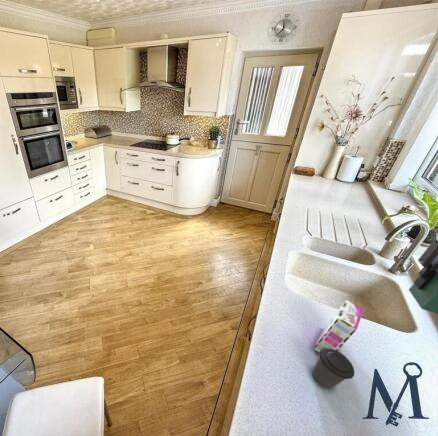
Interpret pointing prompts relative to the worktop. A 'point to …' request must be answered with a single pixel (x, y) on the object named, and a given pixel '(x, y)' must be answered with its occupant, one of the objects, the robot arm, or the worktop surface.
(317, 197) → the worktop surface
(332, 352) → the coffee cup
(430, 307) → the carton
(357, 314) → the candy bar box
